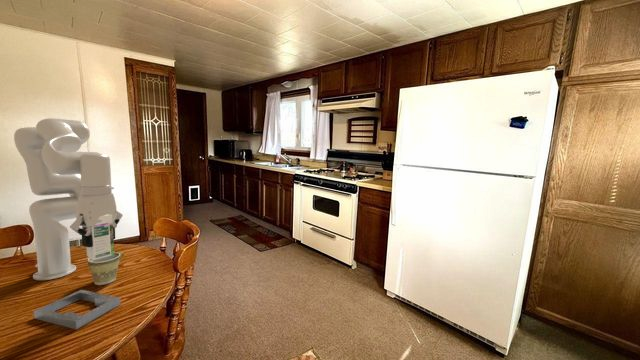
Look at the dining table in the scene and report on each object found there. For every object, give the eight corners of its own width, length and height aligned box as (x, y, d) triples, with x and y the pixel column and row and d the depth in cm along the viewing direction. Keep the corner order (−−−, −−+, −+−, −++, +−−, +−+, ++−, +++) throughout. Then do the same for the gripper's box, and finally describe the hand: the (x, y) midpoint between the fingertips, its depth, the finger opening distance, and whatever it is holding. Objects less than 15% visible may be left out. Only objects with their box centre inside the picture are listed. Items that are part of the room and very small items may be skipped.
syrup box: (93, 260, 84) (91, 217, 83) (86, 256, 87) (83, 214, 86) (114, 255, 89) (112, 214, 88) (106, 251, 92) (104, 211, 90)
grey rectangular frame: (34, 318, 80) (33, 310, 80) (81, 296, 92) (81, 289, 92) (76, 329, 76) (76, 321, 75) (120, 304, 88) (120, 297, 88)
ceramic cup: (103, 289, 97) (101, 263, 96) (82, 285, 99) (80, 260, 98) (134, 273, 110) (133, 250, 109) (114, 270, 112) (113, 248, 111)
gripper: (113, 186, 95) (115, 233, 97) (56, 194, 78) (60, 250, 80) (130, 188, 93) (132, 235, 95) (76, 196, 76) (80, 253, 79)
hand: (99, 242), depth 88 cm, fingers closed on syrup box, 6 cm apart
